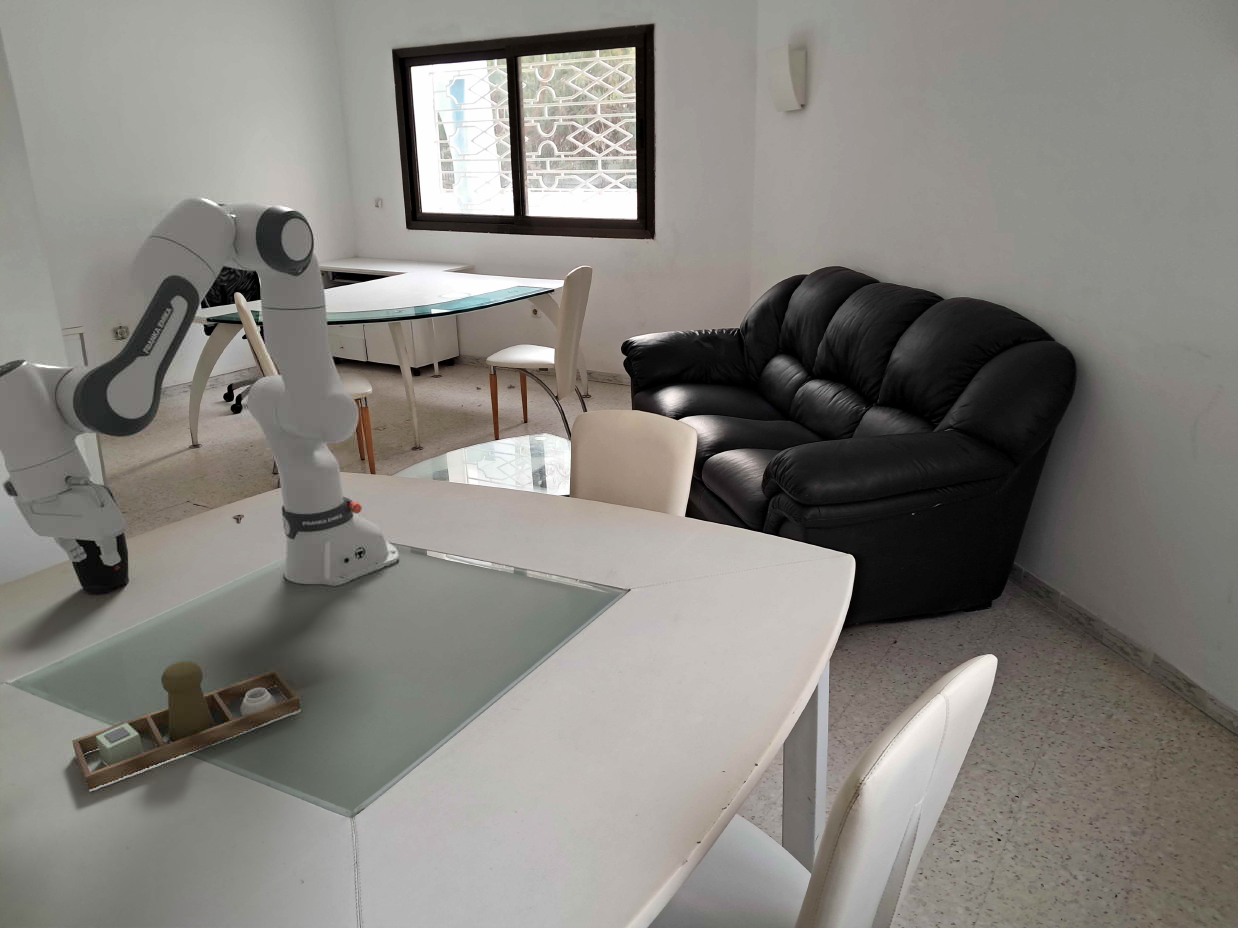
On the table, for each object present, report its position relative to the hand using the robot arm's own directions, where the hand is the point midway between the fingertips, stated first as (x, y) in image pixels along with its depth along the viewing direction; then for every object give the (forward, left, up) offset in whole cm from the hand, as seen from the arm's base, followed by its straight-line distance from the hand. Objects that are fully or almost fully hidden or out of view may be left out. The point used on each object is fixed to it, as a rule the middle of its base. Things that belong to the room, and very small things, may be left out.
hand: (96, 561), depth 127 cm
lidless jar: (-15, +17, -23) cm, 32 cm away
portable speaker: (-5, -42, -23) cm, 48 cm away
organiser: (-5, +17, -22) cm, 29 cm away
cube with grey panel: (+4, +17, -23) cm, 29 cm away
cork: (-5, +17, -23) cm, 29 cm away
